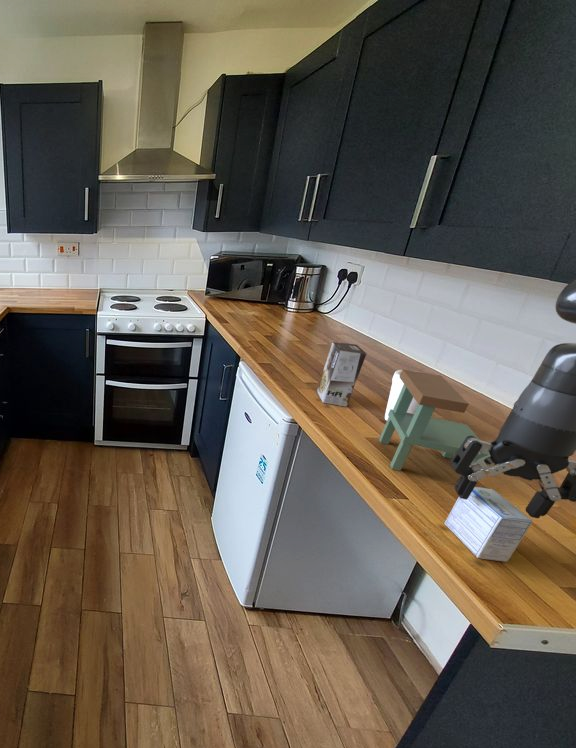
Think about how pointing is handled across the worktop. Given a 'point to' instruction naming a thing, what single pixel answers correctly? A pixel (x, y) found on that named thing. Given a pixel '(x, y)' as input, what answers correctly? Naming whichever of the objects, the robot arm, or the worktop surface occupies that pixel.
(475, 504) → the medicine box
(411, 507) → the worktop surface
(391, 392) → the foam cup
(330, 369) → the coffee box
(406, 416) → the step stool
